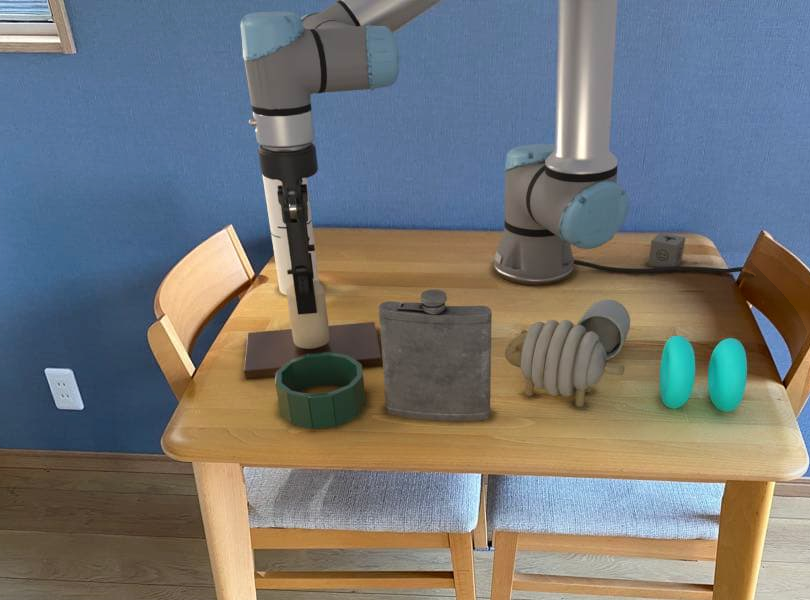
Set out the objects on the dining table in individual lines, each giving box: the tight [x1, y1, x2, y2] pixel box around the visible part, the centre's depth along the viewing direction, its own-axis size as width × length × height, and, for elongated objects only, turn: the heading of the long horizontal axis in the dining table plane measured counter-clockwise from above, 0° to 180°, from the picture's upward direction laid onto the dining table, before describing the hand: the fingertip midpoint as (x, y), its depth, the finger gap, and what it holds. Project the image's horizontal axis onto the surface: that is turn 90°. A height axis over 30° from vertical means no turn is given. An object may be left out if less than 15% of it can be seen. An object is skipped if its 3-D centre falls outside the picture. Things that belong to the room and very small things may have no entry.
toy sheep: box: [504, 319, 625, 408], centre depth 104 cm, size 11×17×11 cm, turn 72°
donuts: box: [659, 335, 748, 413], centre depth 103 cm, size 10×10×10 cm
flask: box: [378, 288, 493, 422], centre depth 98 cm, size 4×14×18 cm, turn 84°
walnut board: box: [243, 321, 383, 380], centre depth 117 cm, size 20×12×2 cm, turn 101°
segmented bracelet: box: [274, 352, 367, 430], centre depth 104 cm, size 12×12×5 cm
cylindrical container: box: [257, 147, 320, 296], centre depth 130 cm, size 7×7×25 cm
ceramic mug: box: [573, 299, 631, 361], centre depth 117 cm, size 11×8×8 cm
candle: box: [286, 278, 330, 349], centre depth 113 cm, size 6×6×10 cm
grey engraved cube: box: [647, 232, 686, 268], centre depth 146 cm, size 5×5×5 cm
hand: (307, 303), depth 113 cm, fingers closed on candle, 5 cm apart
